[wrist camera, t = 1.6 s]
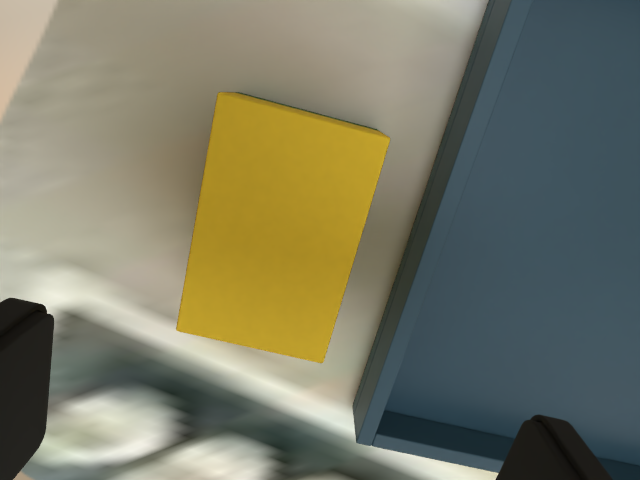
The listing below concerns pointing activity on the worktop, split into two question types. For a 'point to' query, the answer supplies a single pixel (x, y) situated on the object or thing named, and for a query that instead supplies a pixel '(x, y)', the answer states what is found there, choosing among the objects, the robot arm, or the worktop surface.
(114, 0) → the worktop surface
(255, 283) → the sponge
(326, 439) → the worktop surface
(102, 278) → the worktop surface
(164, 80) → the worktop surface
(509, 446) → the tray
